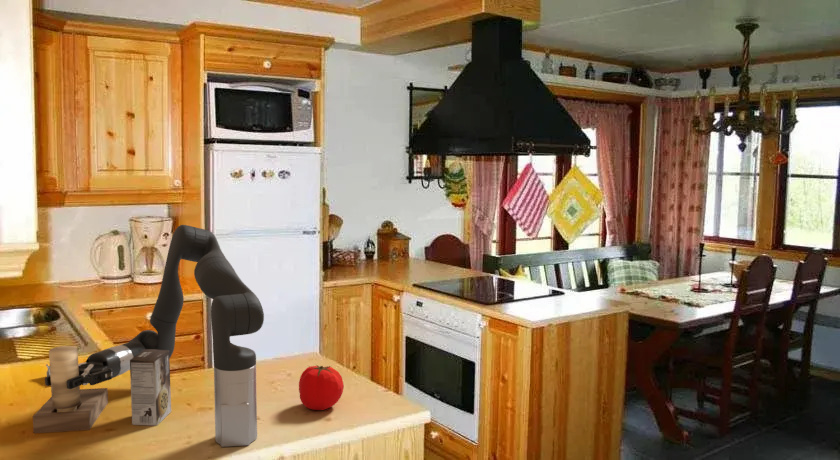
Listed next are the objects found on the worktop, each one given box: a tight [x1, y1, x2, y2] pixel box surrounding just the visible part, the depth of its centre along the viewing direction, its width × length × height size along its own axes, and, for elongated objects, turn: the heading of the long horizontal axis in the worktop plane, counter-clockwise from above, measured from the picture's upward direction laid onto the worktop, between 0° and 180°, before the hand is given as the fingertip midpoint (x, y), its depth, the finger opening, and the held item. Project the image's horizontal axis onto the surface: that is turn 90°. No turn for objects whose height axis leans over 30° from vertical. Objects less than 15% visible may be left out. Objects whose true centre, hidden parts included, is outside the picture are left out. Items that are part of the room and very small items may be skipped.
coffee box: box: [129, 349, 172, 427], centre depth 170 cm, size 9×6×16 cm
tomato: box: [298, 364, 344, 411], centre depth 179 cm, size 12×12×11 cm
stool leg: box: [48, 345, 81, 412], centre depth 166 cm, size 6×6×17 cm
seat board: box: [32, 387, 109, 434], centre depth 171 cm, size 18×12×4 cm, turn 11°
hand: (57, 383), depth 164 cm, fingers closed on stool leg, 6 cm apart
